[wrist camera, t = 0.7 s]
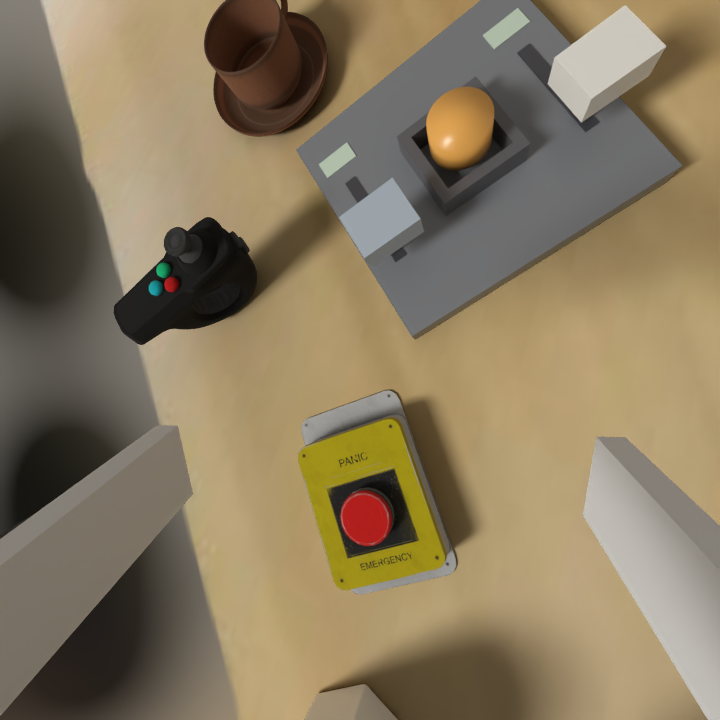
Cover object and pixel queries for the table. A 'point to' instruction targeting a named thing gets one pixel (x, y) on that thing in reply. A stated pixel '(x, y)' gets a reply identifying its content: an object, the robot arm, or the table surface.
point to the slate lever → (382, 223)
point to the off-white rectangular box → (605, 63)
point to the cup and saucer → (264, 65)
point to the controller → (189, 283)
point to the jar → (348, 705)
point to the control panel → (484, 162)
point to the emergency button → (373, 497)
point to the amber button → (460, 128)
